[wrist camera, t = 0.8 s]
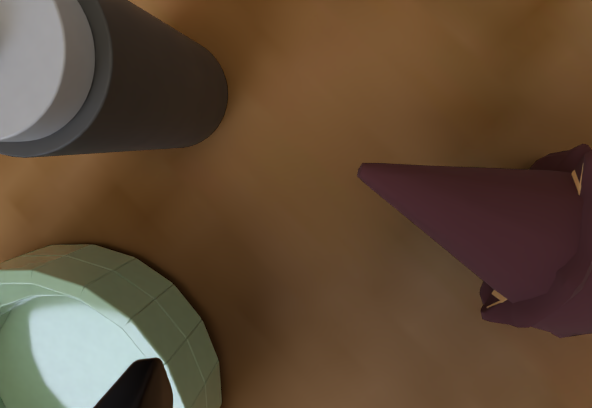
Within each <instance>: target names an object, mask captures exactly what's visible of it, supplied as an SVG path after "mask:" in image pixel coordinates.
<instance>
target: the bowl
mask: <svg viewBox="0 0 592 408" xmlns="http://www.w3.org/2000/svg"><path fill="white" fill-rule="evenodd" d="M154 357H157V358H160V359H161V360H162V362H163V364H164V367H165V370H166V373H167V376H168V379H169V382H170V385H171V388H172V392H173V408H221V405H222V396H221V381H220V367H219V361H218V357H217V355H216V352H215V350H214V347H213V345H212V342H211V340H210V337H209V335H208V333H207V330H206V328H205V325H204V323H203V321H202V320H201V317H200V316H199V315H198V313H197V312H196V311H195V310H194V308H193V307H192V306H191V305H190V304H189V302H188V301H187V300H186V299H185V297H184V296H183V295H182V294H181V292H180V291H179V290H178V289H177V287H176V286H175V285H173V283H172V282H170V281H169V280H168V279H166V278H165V277H163V276H162V275H160V274H159V273H157V272H156V271H154V270H153V269H151V268H150V267H149V266H147V265H146V264H144V263H143V262H141V261H140V260H138V259H136V258H135V257H132V256H129V255H126V254H122V253H119V252H116V251H113V250H110V249H106V248H103V247H100V246H97V245H92V244H82V245H49V246H46V247H43V248H41V249H38V250H35V251H32V252H30V253H27V254H24V255H21V256H18V257H16V258H13V259H10V260H7V261H5V262H2V263H0V408H93V407H94V406H95V405H96V404H97V402H98V401H99V400H100V399H101V398H102V397H103V396H104V395H105V393H106V392H107V391H108V390H109V389H110V388H111V387H112V385H113V384H114V383H115V382H116V381H117V380H118V379H119V377H120V376H121V375H122V374H123V373H124V372H125V371H126V370H127V368H128V367H129V366H130V365H131V364H132V363H133V362H134V361H136V360H138V359H146V358H154Z"/></svg>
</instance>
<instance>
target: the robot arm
mask: <svg viewBox="0 0 592 408" xmlns="http://www.w3.org/2000/svg"><path fill="white" fill-rule="evenodd" d="M93 408H173V392H172V388H171V385H170V382H169V379H168V376H167V373H166V370H165V367H164V364H163V362H162V360H161V359H160V358H157V357H154V358H146V359H138V360H136V361H134V362H133V363H132V364H131V365H130V366H129V367H128V368H127V370H126V371H125V372H124V373H123V374H122V375H121V376H120V377H119V379H118V380H117V381H116V382H115V383H114V384H113V385H112V387H111V388H110V389H109V390H108V391H107V392H106V393H105V395H104V396H103V397H102V398H101V399H100V400H99V401H98V402H97V404H96V405H95V406H94V407H93Z"/></svg>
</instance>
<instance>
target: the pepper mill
mask: <svg viewBox="0 0 592 408" xmlns="http://www.w3.org/2000/svg"><path fill="white" fill-rule="evenodd" d="M227 98H228V91H227V83H226V79H225V76H224V73H223V70H222V68H221V66H220V65H219V63H218V61H217V60H216V59H215V57H214V56H213V55H212V54H211V53H210V52H209V51H208V50H207V49H205V48H204V47H203V46H201V45H200V44H198V43H196V42H195V41H193V40H191V39H190V38H188V37H187V36H185V35H183V34H182V33H180V32H178V31H177V30H175V29H174V28H172V27H170V26H169V25H167V24H165V23H164V22H162V21H161V20H159V19H157V18H156V17H154V16H152V15H151V14H149V13H147V12H146V11H144V10H143V9H141V8H139V7H138V6H136V5H134V4H133V3H131V2H130V1H128V0H0V154H3V155H8V156H12V157H23V158H27V157H44V156H59V155H75V154H91V153H106V152H122V151H137V150H153V149H169V148H184V147H189V146H192V145H195V144H197V143H199V142H201V141H203V140H204V139H206V138H207V137H209V136H210V135H211V134H212V133H213V132H214V131H215V129H216V128H217V127H218V125H219V124H220V122H221V120H222V118H223V116H224V113H225V110H226V106H227Z"/></svg>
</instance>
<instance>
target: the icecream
mask: <svg viewBox="0 0 592 408" xmlns="http://www.w3.org/2000/svg"><path fill="white" fill-rule="evenodd" d="M357 177H359V178H360V179H361V180H362V181H363V182H364V183H365V184H366V185H368V186H369V187H370V188H371V189H372V190H374V191H375V192H376V193H377V194H378V195H380V196H381V197H382V198H383V199H385V200H386V201H387V202H388V203H390V204H391V205H392V206H393V207H394V208H396V209H397V210H398V211H399V212H401V213H402V214H403V215H404V216H406V217H407V218H408V219H409V220H410V221H412V222H413V223H414V224H415V225H416V226H418V227H419V228H420V229H421V230H422V231H424V232H425V233H426V234H427V235H429V236H430V237H431V238H432V239H433V240H435V241H436V242H437V243H438V244H439V245H441V246H442V247H443V248H444V249H446V250H447V251H448V252H449V253H450V254H452V255H453V256H454V257H455V258H456V259H458V260H459V261H460V262H461V263H463V264H464V265H465V266H466V267H467V268H469V269H470V270H471V271H472V272H473V273H475V274H476V275H477V276H478V277H479V278H481V279H482V280H483V281H484V282H483V284H482V286H481V288H480V296H481V299H482V302H483V304H484V305H483V306H482V308H481V315H482V319H484V320H486V321H490V322H496V323H502V324H509V325H512V326H515V327H534V328H537V329H541V330H545V331H548V332H551V333H552V334H553V335H555V336H557V337H559V338H563V337H570V336H575V335H582V334H590V333H592V150H591V149H590V147H589V146H588V145H586V144H581V145H579V146H577V147H575V148H573V149H571V150H568V151H562V152H556V153H551V154H548V155H546V156H545V157H543V158H541V159H539V160H537V161H536V162H535V163H534V164H533V165H532V167H531V168H530V169H529V170H527V169H501V168H475V167H449V166H423V165H404V164H385V163H362V165H361V166H360V168H359V169H358V174H357Z"/></svg>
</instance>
